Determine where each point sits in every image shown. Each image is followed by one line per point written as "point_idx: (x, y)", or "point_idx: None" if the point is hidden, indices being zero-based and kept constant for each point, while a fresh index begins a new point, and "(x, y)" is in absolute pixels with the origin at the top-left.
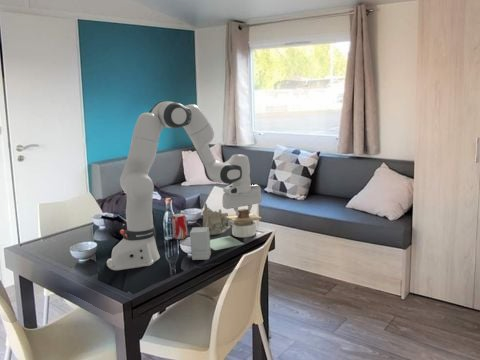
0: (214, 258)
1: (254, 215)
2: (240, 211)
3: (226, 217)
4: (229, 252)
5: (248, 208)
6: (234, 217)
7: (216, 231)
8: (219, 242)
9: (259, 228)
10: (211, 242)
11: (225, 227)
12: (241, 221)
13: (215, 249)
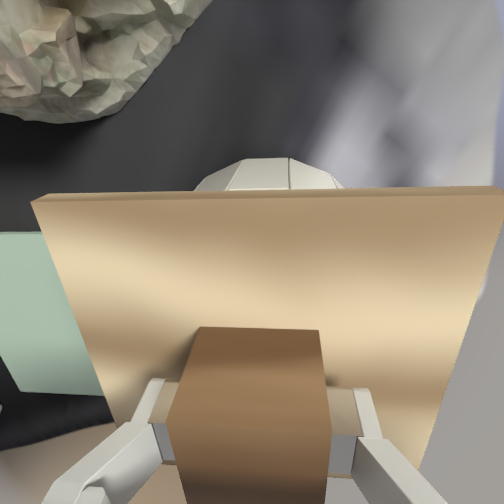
0: (18, 439)
1: (414, 398)
2: (184, 483)
3: (48, 220)
4: (90, 426)
5: (377, 483)
6: (145, 326)
7: (35, 117)
8: (54, 311)
9: (487, 175)
10: (2, 284)
11: (158, 5)
12: (170, 463)
13: (23, 383)
